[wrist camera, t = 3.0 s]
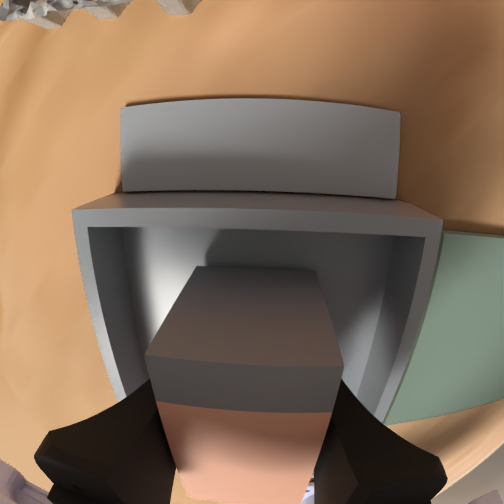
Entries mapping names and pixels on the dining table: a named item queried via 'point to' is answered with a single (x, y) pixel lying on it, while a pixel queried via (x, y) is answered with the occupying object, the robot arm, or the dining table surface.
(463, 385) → the mat
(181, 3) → the egg carton
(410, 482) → the robot arm
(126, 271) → the grey tray
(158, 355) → the block
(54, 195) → the dining table surface
